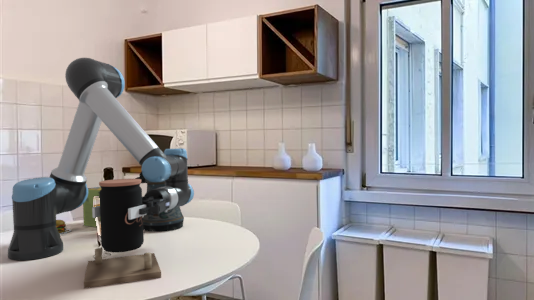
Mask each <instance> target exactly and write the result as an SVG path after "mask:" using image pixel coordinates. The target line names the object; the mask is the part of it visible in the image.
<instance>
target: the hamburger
mask: <svg viewBox="0 0 534 300" xmlns="http://www.w3.org/2000/svg"><path fill="white" fill-rule="evenodd" d="M56 227H57V229H58V232H59V234H60V235H64V234H67V232H68V233H70V232H71V231H72V229H71V228H67V224H66V221H65V220H63V219H56ZM68 230H69V231H68ZM62 232H63V233H64V234H63V233H62Z"/></svg>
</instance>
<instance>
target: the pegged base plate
mask: <svg viewBox="0 0 534 300" xmlns="http://www.w3.org/2000/svg"><path fill="white" fill-rule="evenodd" d="M161 278H162V270H161V268H160V265H159V263H158V260H157V257H156V254H155V253H153V252H144V253H143V254H137V255H136V254H134V255H128V256H127V255H125V256H119V257H109V258H103V247H101V248H100V247H99V248H95V249H94V259H93V260H92V259H91V260H87V264H86V269H85V275H84V280H83V289H88V288H89V287H90V288H96V287H103V286H110V285H111V286H112V285H118V284H122V283H123V284H124V283H132V282H137V281H138V282H140V281H145V280H152V279H161Z"/></svg>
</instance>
